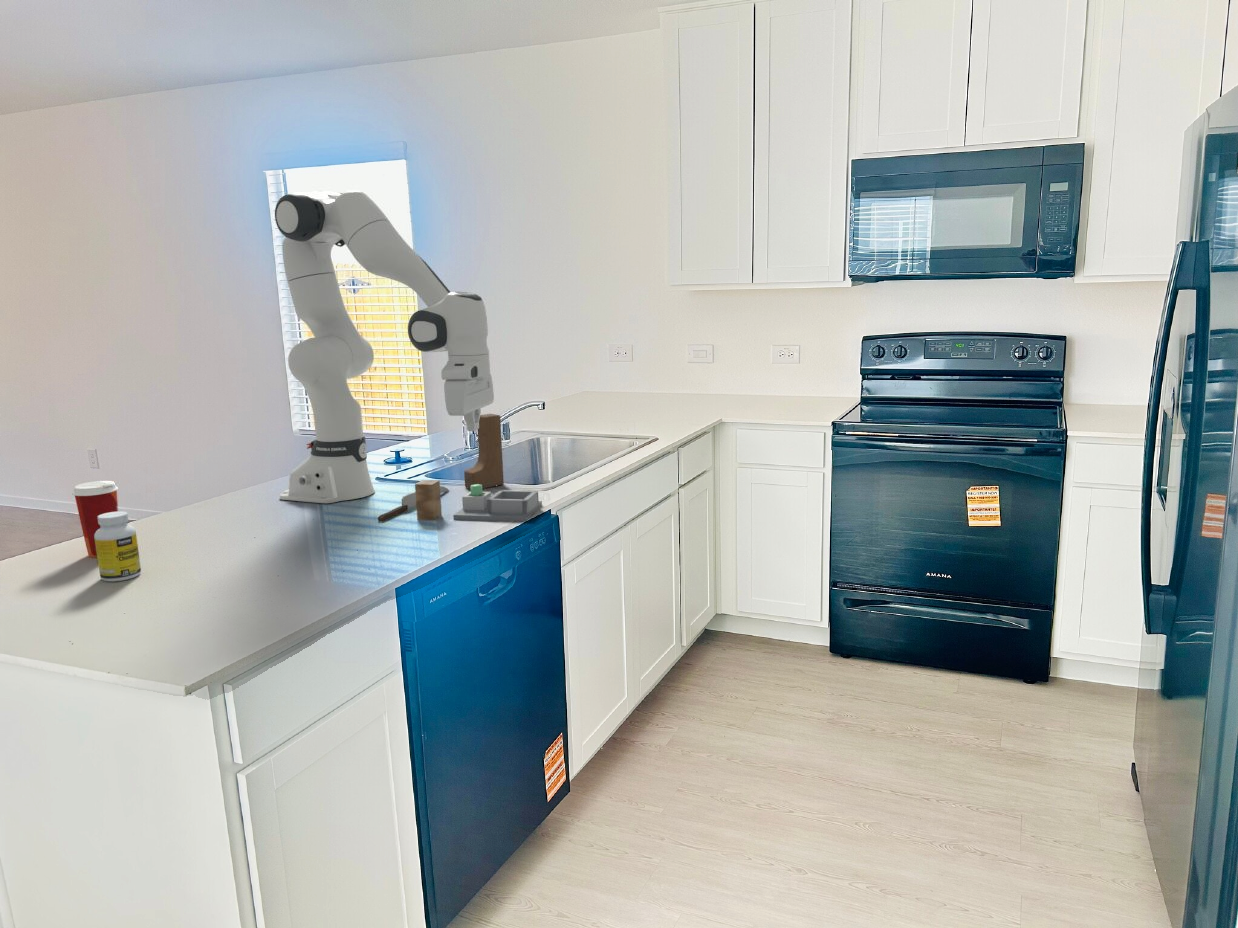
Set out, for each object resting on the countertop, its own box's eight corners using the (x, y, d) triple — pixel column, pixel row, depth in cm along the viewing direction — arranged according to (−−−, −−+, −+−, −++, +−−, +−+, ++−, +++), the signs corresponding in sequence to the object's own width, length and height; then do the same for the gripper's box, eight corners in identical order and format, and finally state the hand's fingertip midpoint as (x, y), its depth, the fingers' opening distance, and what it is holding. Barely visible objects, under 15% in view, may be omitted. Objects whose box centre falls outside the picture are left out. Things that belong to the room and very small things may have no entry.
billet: (417, 519, 191) (414, 484, 190) (424, 514, 195) (422, 480, 194) (434, 520, 191) (432, 484, 189) (441, 515, 194) (439, 480, 193)
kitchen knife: (381, 508, 189) (450, 475, 217) (377, 507, 190) (446, 475, 217) (383, 526, 190) (451, 491, 218) (378, 526, 191) (447, 491, 218)
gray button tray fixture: (453, 519, 191) (452, 501, 190) (476, 503, 204) (475, 486, 203) (523, 521, 188) (522, 503, 187) (541, 505, 201) (541, 488, 200)
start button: (469, 499, 195) (468, 486, 195) (473, 497, 198) (472, 484, 197) (480, 500, 195) (479, 487, 194) (484, 497, 197) (483, 484, 197)
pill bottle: (113, 585, 153) (103, 521, 151) (93, 579, 156) (83, 516, 154) (149, 574, 158) (140, 512, 156) (129, 568, 162) (120, 508, 160)
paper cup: (136, 549, 174) (126, 481, 171) (102, 561, 167) (91, 489, 164) (106, 546, 177) (96, 479, 174) (72, 557, 169) (61, 487, 167)
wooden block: (473, 490, 217) (469, 419, 213) (464, 487, 220) (460, 417, 216) (504, 484, 222) (500, 415, 219) (494, 482, 226) (491, 413, 222)
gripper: (472, 363, 201) (476, 422, 204) (437, 372, 181) (442, 438, 184) (498, 363, 200) (502, 422, 202) (466, 372, 180) (470, 438, 183)
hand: (473, 430), depth 193 cm, fingers closed
